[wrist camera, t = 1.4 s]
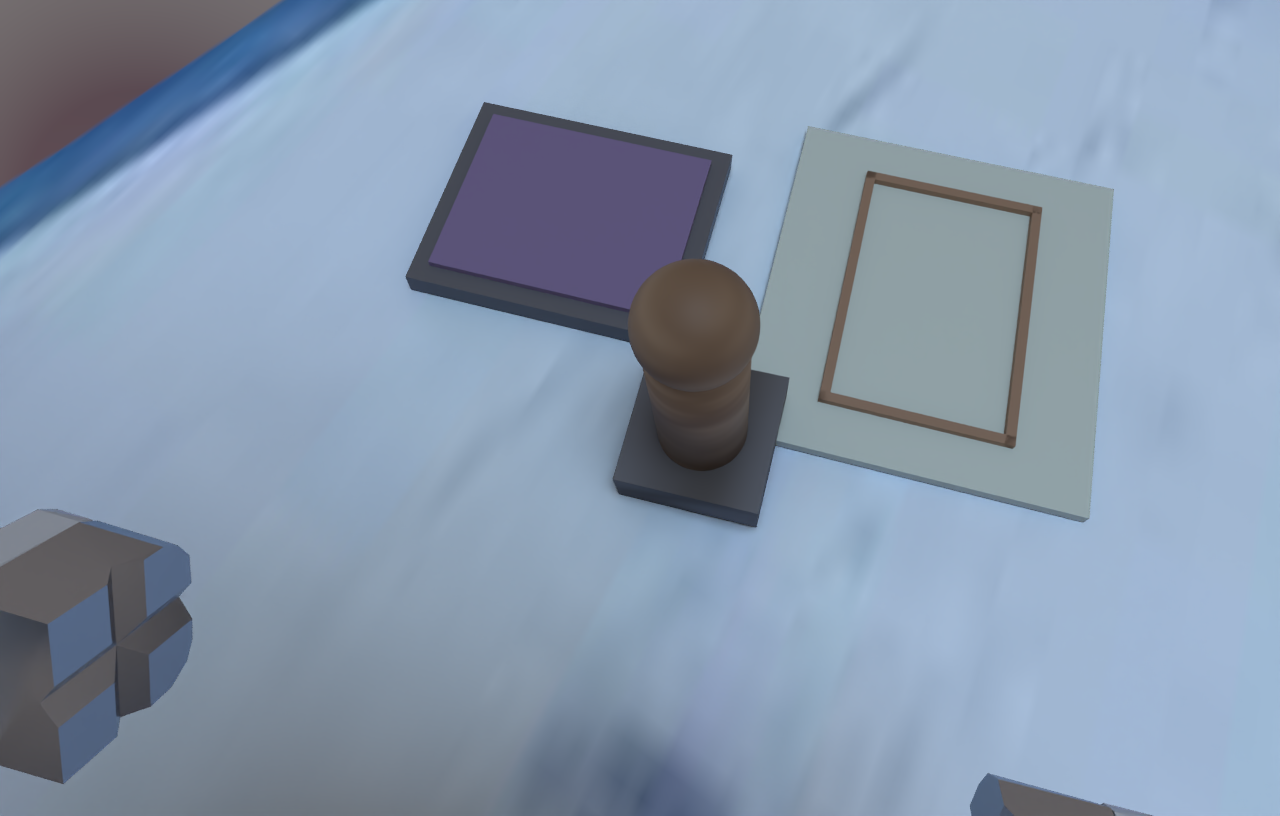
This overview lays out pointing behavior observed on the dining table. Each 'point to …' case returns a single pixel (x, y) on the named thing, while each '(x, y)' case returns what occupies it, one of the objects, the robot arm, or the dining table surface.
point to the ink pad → (565, 218)
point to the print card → (941, 320)
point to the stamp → (699, 395)
